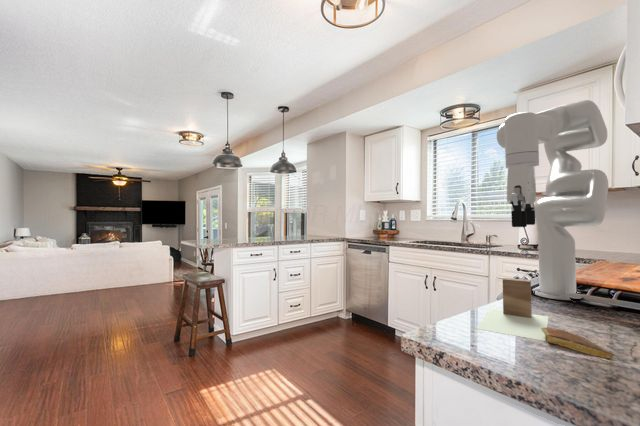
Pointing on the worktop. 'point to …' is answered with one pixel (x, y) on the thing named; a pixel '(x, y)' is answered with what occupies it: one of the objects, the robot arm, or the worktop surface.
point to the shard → (574, 342)
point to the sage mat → (514, 324)
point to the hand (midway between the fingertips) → (523, 225)
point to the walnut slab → (517, 297)
